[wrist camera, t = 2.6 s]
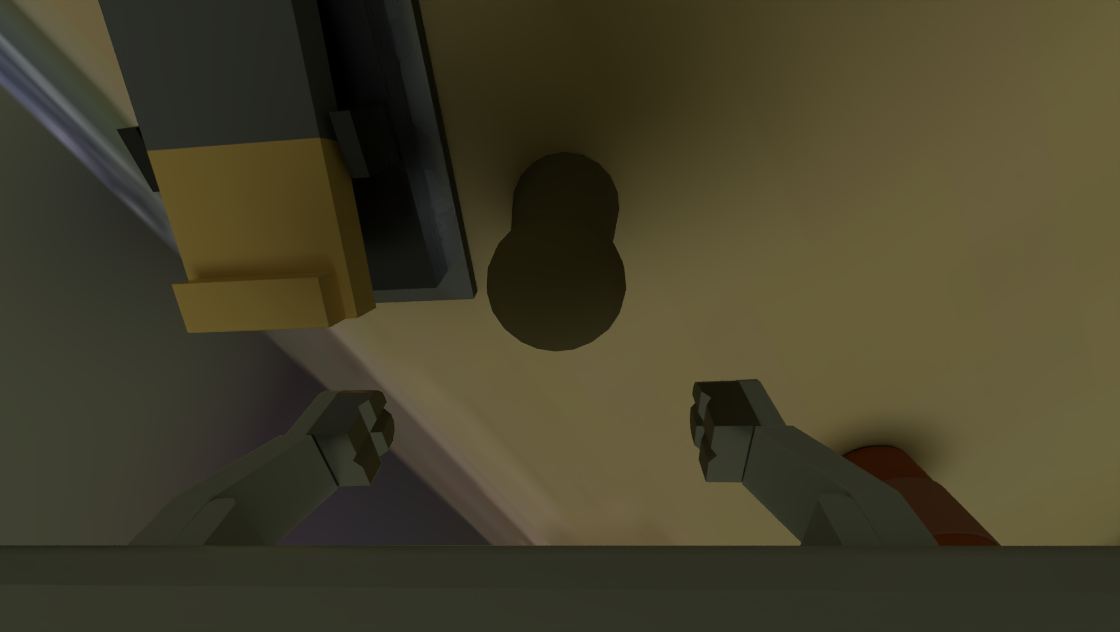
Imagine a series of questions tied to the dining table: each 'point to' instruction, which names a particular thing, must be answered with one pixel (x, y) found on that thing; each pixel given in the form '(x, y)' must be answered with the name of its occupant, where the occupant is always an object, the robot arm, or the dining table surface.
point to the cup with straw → (923, 496)
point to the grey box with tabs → (388, 150)
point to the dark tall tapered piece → (559, 256)
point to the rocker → (245, 159)
